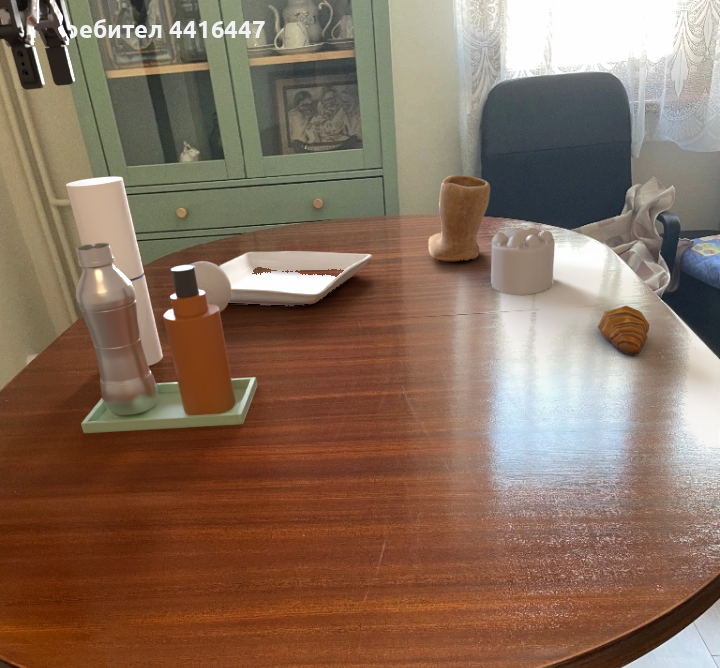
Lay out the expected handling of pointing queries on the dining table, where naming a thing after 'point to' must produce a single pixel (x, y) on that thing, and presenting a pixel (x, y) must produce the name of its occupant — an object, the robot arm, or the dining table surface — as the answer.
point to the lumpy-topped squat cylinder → (522, 261)
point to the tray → (171, 411)
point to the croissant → (625, 329)
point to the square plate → (288, 276)
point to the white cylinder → (213, 283)
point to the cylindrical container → (116, 244)
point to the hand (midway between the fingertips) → (50, 86)
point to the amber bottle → (198, 347)
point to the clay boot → (459, 218)
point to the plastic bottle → (114, 331)
